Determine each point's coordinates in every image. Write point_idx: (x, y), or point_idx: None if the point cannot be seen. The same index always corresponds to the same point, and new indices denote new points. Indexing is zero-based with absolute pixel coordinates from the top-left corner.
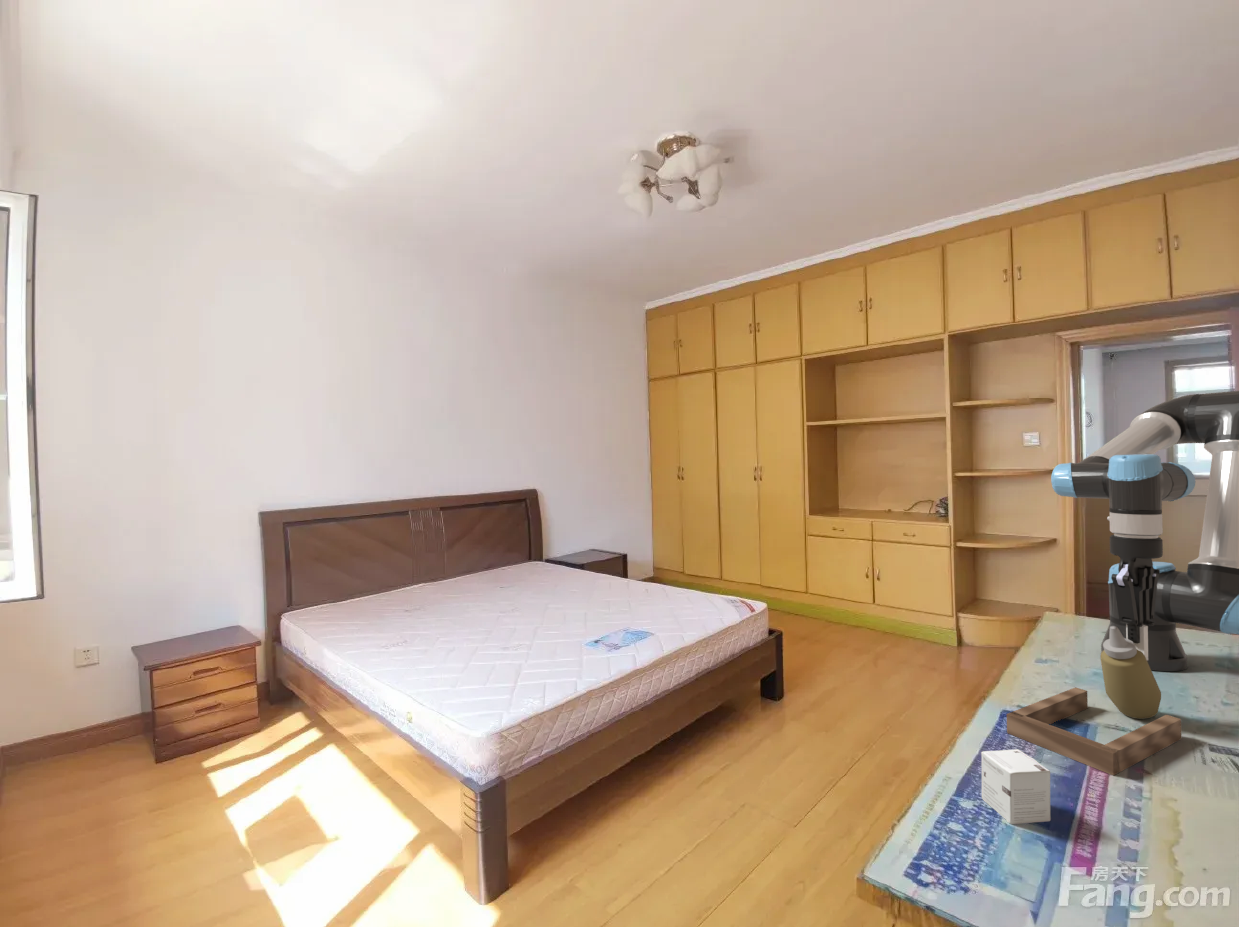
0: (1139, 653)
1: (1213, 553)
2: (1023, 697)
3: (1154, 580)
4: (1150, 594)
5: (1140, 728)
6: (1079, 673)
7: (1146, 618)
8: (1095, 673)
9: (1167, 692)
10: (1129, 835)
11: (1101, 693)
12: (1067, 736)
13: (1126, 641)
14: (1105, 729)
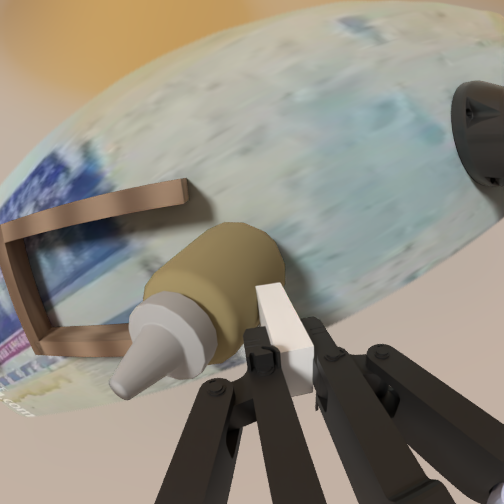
0: (213, 359)
1: None
2: (127, 116)
3: (471, 498)
4: (427, 456)
5: (116, 342)
6: (361, 88)
7: (321, 411)
8: (386, 105)
9: (398, 217)
10: (12, 377)
11: (295, 162)
12: (15, 309)
13: (185, 363)
14: (133, 268)
